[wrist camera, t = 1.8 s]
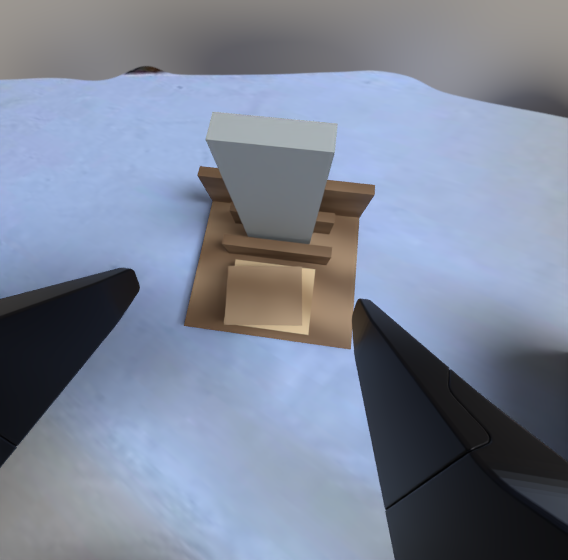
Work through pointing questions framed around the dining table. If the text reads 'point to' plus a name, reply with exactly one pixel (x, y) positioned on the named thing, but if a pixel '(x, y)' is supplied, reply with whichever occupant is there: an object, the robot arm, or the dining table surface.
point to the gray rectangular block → (273, 171)
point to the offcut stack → (269, 296)
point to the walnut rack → (283, 262)
